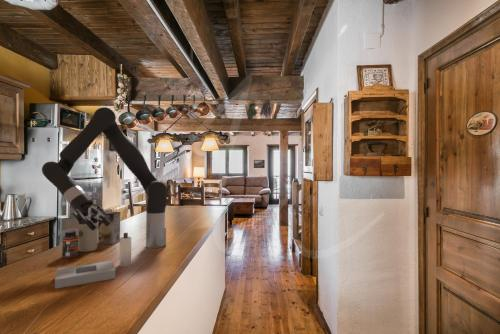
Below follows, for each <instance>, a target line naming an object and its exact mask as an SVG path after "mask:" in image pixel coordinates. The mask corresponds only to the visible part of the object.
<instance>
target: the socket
mask: <svg viewBox="0 0 500 334" xmlns="http://www.w3.org/2000/svg"><path fill="white" fill-rule="evenodd" d="M114 264H115V263H114V262H113V260H107V261H100V262H93V263H92V262H91V263H86V264H78V265H72V266H65V267H64V266H63V267H58V268H57V271H56V274H55V278H54V289H55V290H56V289H61V288H67V287H73V286H74V287H75V286H79V285H84V284H91V283H96V282H101V281H107V280H114V279H116V268H115V265H114Z"/></svg>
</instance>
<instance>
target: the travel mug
mask: <svg viewBox="0 0 500 334" xmlns="http://www.w3.org/2000/svg"><path fill="white" fill-rule="evenodd" d="M90 219H91V220H92V222H93V223H94V224H95V225H96V226H97V228H96V229H95V230H93V231H92V230H91V229H90V228H89V227H88V226H87V224H84V223H83V224H80V223H79V222H78V252H80V253H89V252H94V251H96V250H97V249H98V225H99V219H98V218H97V219H96V218H94V217H93V218H90ZM81 220H82V218H81ZM91 220H90V221H91Z"/></svg>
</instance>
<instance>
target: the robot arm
mask: <svg viewBox="0 0 500 334" xmlns="http://www.w3.org/2000/svg"><path fill="white" fill-rule="evenodd" d="M116 117H117V116H116V113H115V111H113V109H112V108H109V107H105V106H104V107H99V108H97V109H95V111H94V113H93V115H92V117H91V119H90V120H89V122H88V123H87V124H86V125H85V127H84V128H83V129H82V130H81V131H80V132H79V133H78V134H77V135H76V136H75V137H74V138H73V139H71V141H70V142H69V143H68V144H67V145H66V146H65V147H64V148H63V149H62V150H61V151H60V152H59V158H60V159H59V160H58V162H55V161H47V162H45V163H43V164H42V167H41V173H42V175H43V176H44V177H45V178H46V179H47V180H48V181H49V182H50V183H51V184H52V185H53V186H54V187H55V188H56V189H57V190H58V192H59V193H60V194H61V196H63V198H64V199H65V200H66V201H65V202H67V203H68V204H69V206H70V207H71V208H72V209H73V210H74V212H73V213H72V215H73V216H74V218H75V219H76V220H77V221H78V224H79V223H80V224H83V223H84V224H87V226H88V227H89V228H90V229H91V230H92V231H93V230H95V229H96V228H97V226H96V225H95V224H94V223H93V222H92V220H91V219H90V218H93V217H94V218H96V219H98V220H99V219H100V220H101V221H102V222H103V223H104V224H105V226H109V225H110V221H109V220H108V219H107V218H106V216H107V215H108V214H107V212H106V211H107V210H105V209H104V208H103V207H102V206H101V205H97V206H95V205H94V201H93V199H92V198H91V197H90V196H89V194H88V193H87V192H86V191H85V190H84V189H83V188H82V187H81V186H80V184H78V183H77V182H76V181H75V180H74V179H73V178H72V177H70V176H69V174H70V172H72V169H73V167H74V166H75V163H76V162H77V161H78V160H79V159H80V158H81V157H82V155H83V154H84V153H85V152H86V151H87V150H88V148H89V147H90V146H91V144H92V143H94V141H95V140H96V139H97V138H98V136H100V134H101V133H102V134H103V135H104V136H105V137H106V138H107V139H108V141H109V143H110V144H111V146H112V148H113V149H114V151H115V152H116V153H117V155H118V157H119V158H120V159H121V161H122V163H123V164H125V166H126V167H127V168H128V170H129V171H130V172H131V173H132V174H133V175H134V177H135V178H136V179H137V180H138V182H139V183H140V185H141V187H142V189H143V190H144V193H145V194H146V195H147V206H146V208H145V210H146V216H145V217H146V219H145V223H146V225H145V226H146V227H145V248H148V249H157V248H163V247H166V246H167V226H166V207H167V202H168V201H167V200H168V199H167V198H168V197H167V196H168V195H167V194H168V189H167V186H166V184H165V183H164V182H163V181H159V180H158V179H157V178H156V177H155V176H154V174H153V173H152V172H151V170H150V169H149V166H148V163H147V162H146V159H145V157H144V155H143V154H142V153H141V151H140V149H139V148H138V147H137V146H136V145H135V143H134V142H133V141H132V140H131V139H130V138H129V137H128V136H126V134H125V133H124V132H123V131H122V129H121V128H120V126H119V125H118V123H117V119H116ZM103 213H104V214H103ZM100 216H101V217H100ZM81 218H82V220H81ZM90 220H91V221H90Z"/></svg>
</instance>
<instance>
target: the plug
mask: <svg viewBox="0 0 500 334" xmlns="http://www.w3.org/2000/svg"><path fill="white" fill-rule="evenodd" d="M118 265H119V266H120V267H122V268H123V267H129V266H131V265H132V236H129V235H128V232H123V236H122V237H121V236H120V241H119V263H118Z"/></svg>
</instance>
